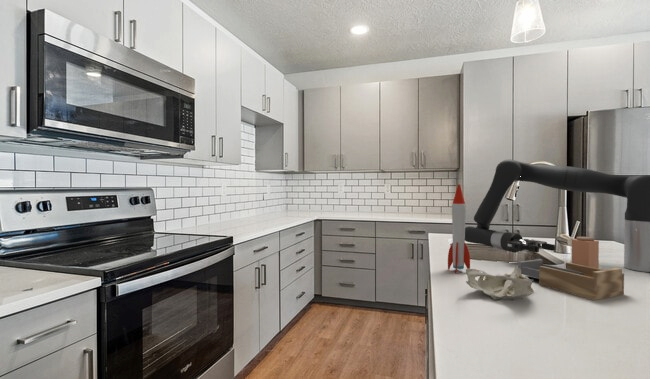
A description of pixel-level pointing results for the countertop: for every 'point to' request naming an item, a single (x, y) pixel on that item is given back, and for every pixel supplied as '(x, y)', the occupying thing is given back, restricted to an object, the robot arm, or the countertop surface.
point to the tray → (532, 268)
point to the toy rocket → (458, 234)
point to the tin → (585, 252)
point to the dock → (584, 281)
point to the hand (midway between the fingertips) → (546, 248)
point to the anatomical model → (500, 284)
